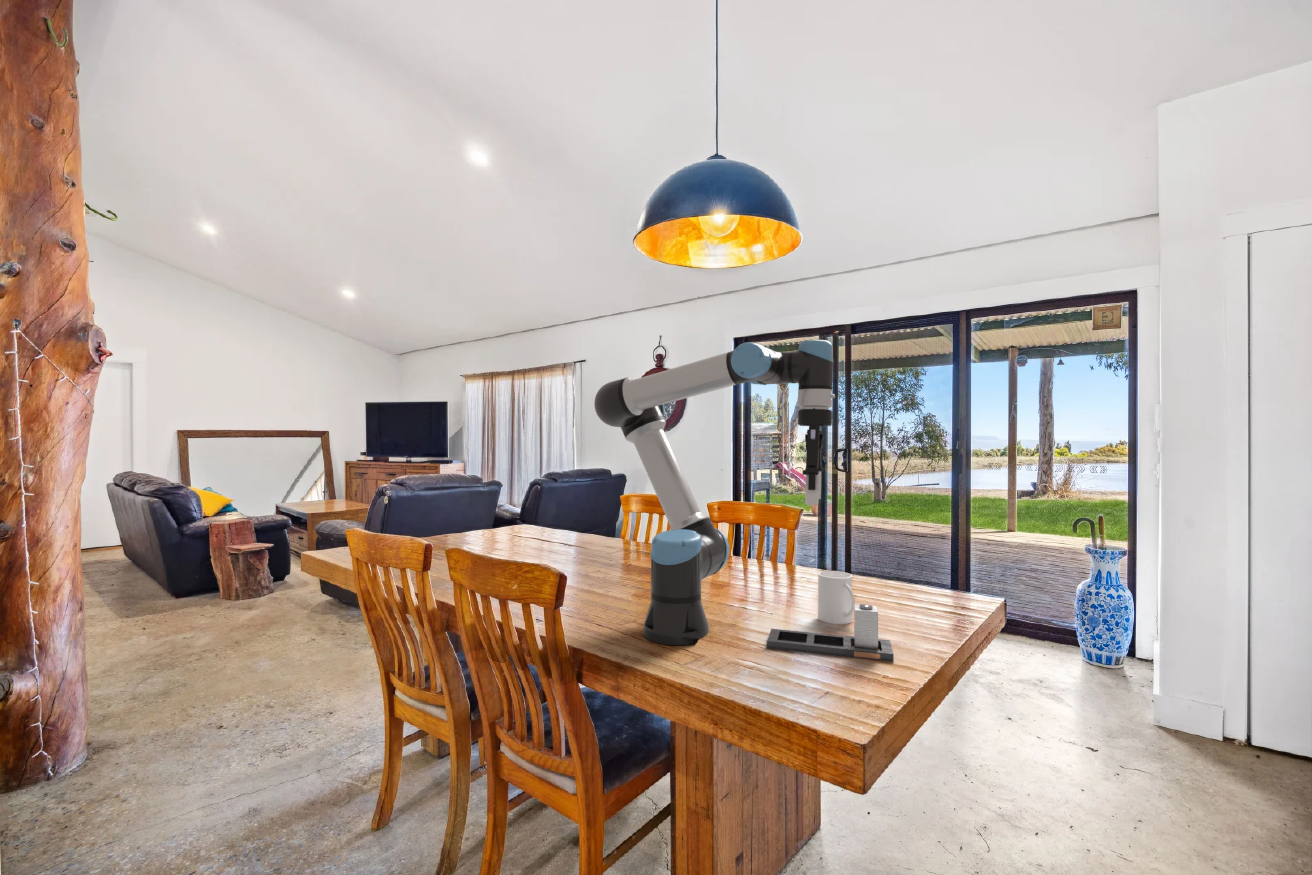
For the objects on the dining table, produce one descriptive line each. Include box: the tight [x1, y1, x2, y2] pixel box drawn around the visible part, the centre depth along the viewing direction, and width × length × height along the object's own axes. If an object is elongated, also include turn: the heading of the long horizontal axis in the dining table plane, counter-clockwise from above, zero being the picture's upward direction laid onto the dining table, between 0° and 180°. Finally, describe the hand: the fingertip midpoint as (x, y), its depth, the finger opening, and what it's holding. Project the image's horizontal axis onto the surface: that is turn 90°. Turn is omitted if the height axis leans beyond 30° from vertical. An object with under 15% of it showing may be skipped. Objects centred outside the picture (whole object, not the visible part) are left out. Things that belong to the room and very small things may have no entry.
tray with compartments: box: [766, 628, 894, 663], centre depth 124 cm, size 25×8×2 cm, turn 73°
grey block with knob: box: [853, 603, 879, 650], centre depth 122 cm, size 4×4×10 cm
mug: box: [817, 570, 856, 625], centre depth 143 cm, size 12×8×12 cm
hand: (813, 501), depth 134 cm, fingers open, 13 cm apart
